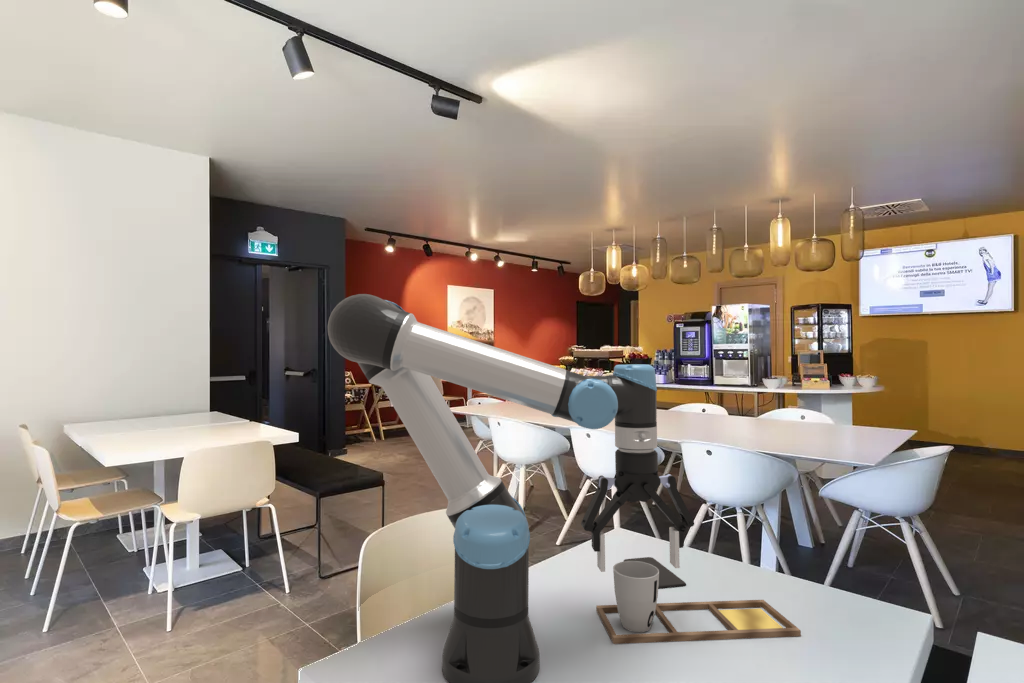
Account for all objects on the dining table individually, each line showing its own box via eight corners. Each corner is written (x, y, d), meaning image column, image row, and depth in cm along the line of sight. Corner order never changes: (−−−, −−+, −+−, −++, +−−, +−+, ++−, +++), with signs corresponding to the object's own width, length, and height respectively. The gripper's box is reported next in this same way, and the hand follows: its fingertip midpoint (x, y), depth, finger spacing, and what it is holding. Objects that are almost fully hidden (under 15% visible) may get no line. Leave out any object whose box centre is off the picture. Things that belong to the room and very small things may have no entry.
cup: (660, 639, 94) (660, 580, 94) (612, 634, 96) (612, 576, 96) (657, 617, 102) (657, 562, 102) (613, 612, 104) (613, 559, 104)
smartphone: (688, 588, 116) (652, 560, 131) (688, 583, 116) (652, 556, 131) (654, 591, 114) (621, 562, 129) (654, 587, 114) (621, 558, 129)
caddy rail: (613, 643, 92) (613, 637, 92) (596, 610, 104) (596, 605, 104) (800, 636, 95) (800, 630, 95) (763, 604, 107) (763, 599, 107)
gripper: (572, 454, 95) (574, 578, 94) (711, 450, 97) (714, 572, 96) (564, 447, 102) (566, 562, 102) (693, 444, 104) (696, 556, 104)
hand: (638, 567), depth 99 cm, fingers open, 13 cm apart
